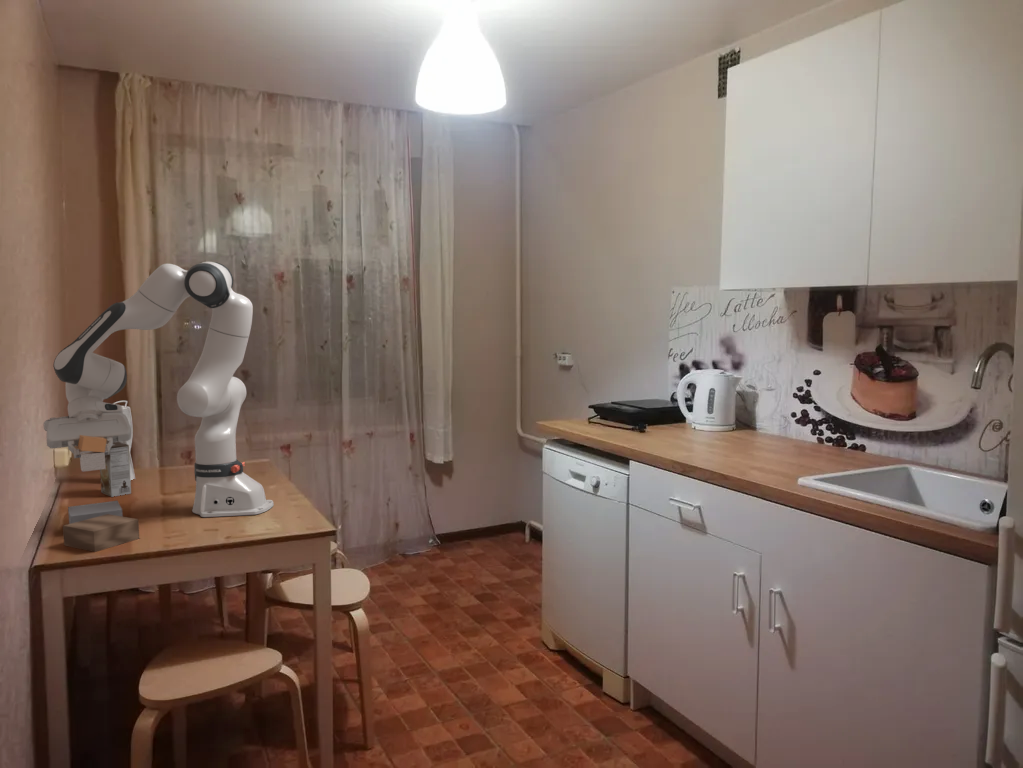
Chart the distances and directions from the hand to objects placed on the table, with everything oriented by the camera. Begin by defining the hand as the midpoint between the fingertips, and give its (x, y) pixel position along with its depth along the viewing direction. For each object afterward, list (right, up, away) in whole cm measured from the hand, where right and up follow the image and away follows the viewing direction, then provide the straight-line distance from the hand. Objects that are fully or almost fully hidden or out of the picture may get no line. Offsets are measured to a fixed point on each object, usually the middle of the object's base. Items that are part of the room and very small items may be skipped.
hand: (92, 455), depth 202 cm
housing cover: (0, +1, 0) cm, 1 cm away
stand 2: (+9, -21, -12) cm, 26 cm away
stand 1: (0, -20, +2) cm, 20 cm away
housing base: (0, -4, +1) cm, 4 cm away
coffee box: (-15, -16, +41) cm, 46 cm away
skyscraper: (-22, -15, +59) cm, 65 cm away
